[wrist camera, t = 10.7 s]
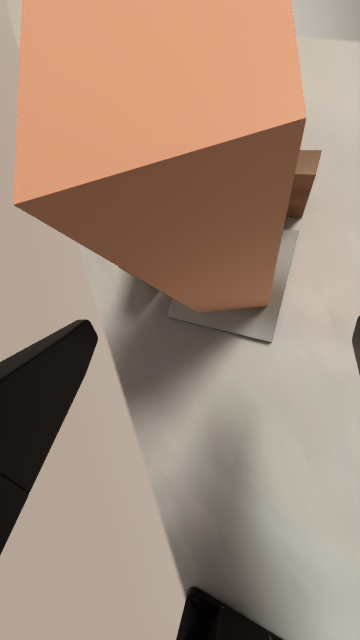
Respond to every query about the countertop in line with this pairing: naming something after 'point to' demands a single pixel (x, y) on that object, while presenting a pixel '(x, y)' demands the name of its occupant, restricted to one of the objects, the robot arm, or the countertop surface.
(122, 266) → the terracotta block
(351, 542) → the countertop surface
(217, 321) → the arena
